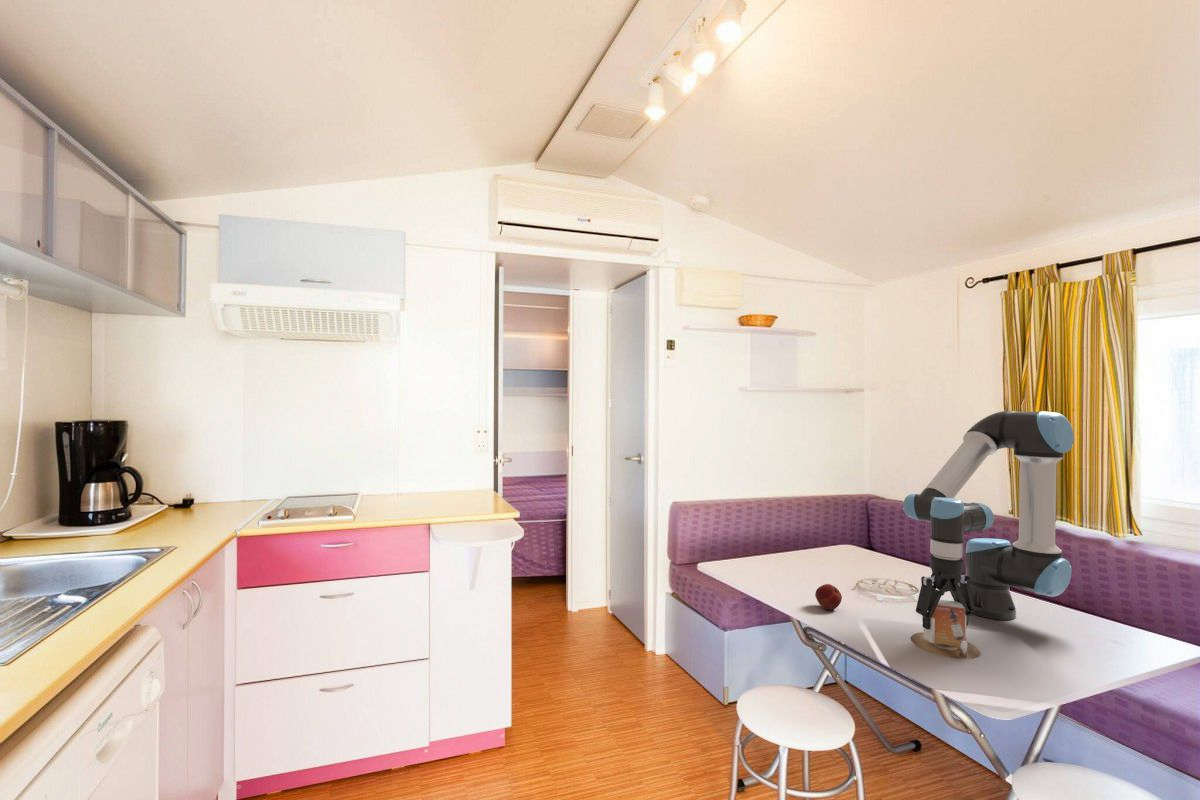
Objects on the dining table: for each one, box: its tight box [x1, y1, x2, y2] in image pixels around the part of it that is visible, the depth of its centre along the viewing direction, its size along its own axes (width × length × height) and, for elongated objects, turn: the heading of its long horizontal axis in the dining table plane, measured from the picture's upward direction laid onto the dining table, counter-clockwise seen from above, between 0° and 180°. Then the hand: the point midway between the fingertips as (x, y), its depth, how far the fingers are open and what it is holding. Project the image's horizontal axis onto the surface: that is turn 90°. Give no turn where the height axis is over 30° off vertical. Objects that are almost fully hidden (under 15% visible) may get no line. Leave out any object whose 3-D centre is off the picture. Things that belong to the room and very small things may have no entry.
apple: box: [814, 583, 843, 611], centre depth 176 cm, size 7×8×8 cm
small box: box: [927, 599, 966, 647], centre depth 148 cm, size 8×6×10 cm
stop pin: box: [960, 639, 968, 658], centre depth 141 cm, size 2×2×4 cm
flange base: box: [910, 631, 982, 660], centre depth 148 cm, size 16×16×2 cm
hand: (945, 639), depth 148 cm, fingers closed on small box, 9 cm apart
